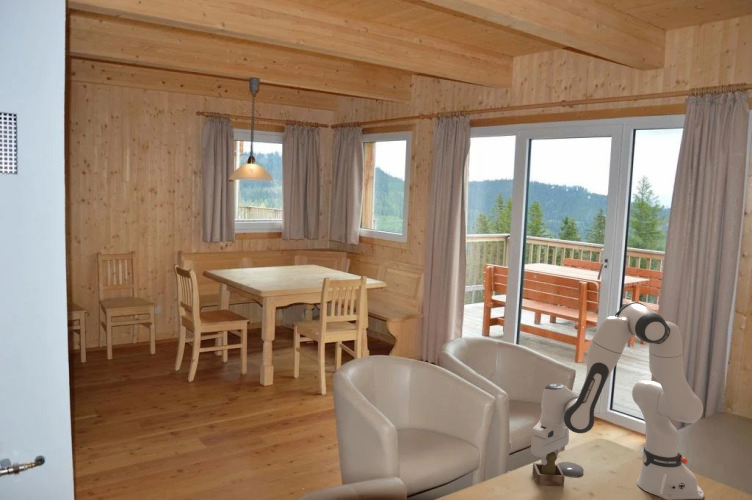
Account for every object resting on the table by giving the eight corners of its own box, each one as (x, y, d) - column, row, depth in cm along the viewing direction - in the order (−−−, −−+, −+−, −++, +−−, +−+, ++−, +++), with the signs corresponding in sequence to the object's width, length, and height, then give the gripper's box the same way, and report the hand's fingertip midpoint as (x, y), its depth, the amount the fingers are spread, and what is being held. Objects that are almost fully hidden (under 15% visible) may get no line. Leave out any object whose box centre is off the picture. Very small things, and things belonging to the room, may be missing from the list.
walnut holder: (557, 474, 238) (558, 464, 238) (563, 486, 229) (564, 476, 228) (532, 472, 239) (533, 462, 238) (537, 485, 229) (538, 474, 229)
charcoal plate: (579, 465, 247) (579, 462, 247) (586, 477, 237) (586, 474, 237) (554, 463, 247) (554, 461, 247) (560, 475, 237) (560, 473, 237)
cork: (556, 484, 230) (558, 456, 229) (539, 482, 231) (542, 454, 230) (555, 476, 236) (557, 449, 235) (539, 474, 237) (541, 447, 236)
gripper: (559, 417, 240) (557, 451, 242) (529, 430, 227) (526, 466, 229) (574, 422, 236) (571, 457, 237) (544, 436, 222) (541, 472, 224)
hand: (549, 461), depth 233 cm, fingers closed on cork, 5 cm apart
